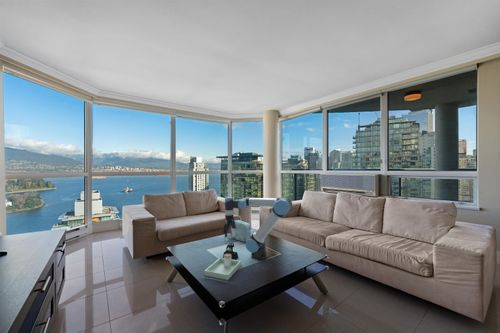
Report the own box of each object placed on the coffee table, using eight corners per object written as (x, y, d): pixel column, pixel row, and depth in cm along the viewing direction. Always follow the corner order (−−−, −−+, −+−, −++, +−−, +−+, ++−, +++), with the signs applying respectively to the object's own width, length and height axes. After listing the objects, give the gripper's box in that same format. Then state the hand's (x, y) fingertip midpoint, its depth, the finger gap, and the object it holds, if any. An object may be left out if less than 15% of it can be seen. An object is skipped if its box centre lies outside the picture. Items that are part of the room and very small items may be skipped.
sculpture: (234, 262, 182) (233, 245, 182) (222, 258, 189) (221, 242, 189) (239, 258, 189) (238, 242, 189) (227, 255, 196) (227, 239, 196)
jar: (233, 264, 175) (232, 254, 175) (229, 268, 169) (229, 257, 169) (226, 263, 177) (226, 253, 177) (222, 267, 171) (222, 256, 171)
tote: (241, 266, 174) (241, 260, 174) (227, 281, 152) (227, 275, 152) (220, 262, 181) (220, 257, 181) (204, 276, 159) (204, 270, 159)
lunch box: (229, 237, 244) (228, 219, 244) (235, 235, 251) (235, 217, 251) (244, 243, 225) (244, 223, 225) (251, 241, 232) (251, 221, 232)
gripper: (231, 211, 202) (232, 233, 202) (218, 217, 179) (219, 242, 179) (238, 211, 199) (239, 234, 199) (226, 217, 176) (227, 243, 176)
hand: (230, 238), depth 189 cm, fingers open, 13 cm apart
